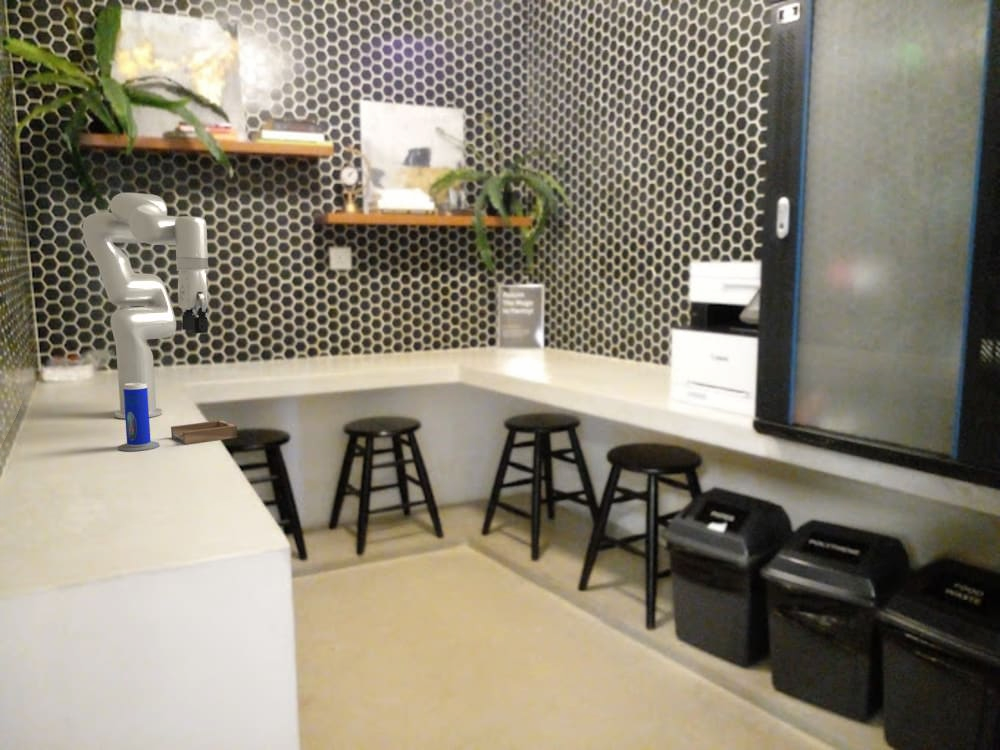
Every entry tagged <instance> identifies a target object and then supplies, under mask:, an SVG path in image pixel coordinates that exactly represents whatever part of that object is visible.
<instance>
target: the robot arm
mask: <svg viewBox="0 0 1000 750" xmlns="http://www.w3.org/2000/svg"><path fill="white" fill-rule="evenodd" d="M109 208H110V211H111V212H95V213H92V214H89V215H88V216H86V218H84V221H83V226H82V230H83V231H82V232H83V233H82V234H83V240H84V242H85V245H86V247H87V249H88V251H89V253H90V255H91V256H92V258H93V260H94V261H95V263H96V265H97V268H98V271H99V274H100V277H101V281H102V284H103V287H104V289H105V292H106V295H107V299H108V300H109V302H110V303H111V304H112V305H114V306H117V307H122V308H119V309H117V310H115V311H114V312H113V313H112V314H111V316H110V328H111V332H112V334H113V339H114V344H115V352H116V353H115V354H116V365H117V367H116V368H117V378H118V380H117V381H118V393H119V408H120V409H119V410H117V411H115V412H114V418H117V419H123V420H125V406H124V391H123V388H124V384H127V383H146V385H147V391H148V407H149V418H154V417H157V416H160V415H162V414H163V409H162V408H159V407H157V400H156V399H157V398H156V383H155V381H156V380H155V367H154V366H155V365H154V354H153V352H152V350H151V349H150V347H149V346H148V345H147V343H145V341H146V340H155V339H156V340H157V339H167V338H170V337H172V336H173V335H174V334H175V333H176V330H177V320H176V315H175V312H174V309H173V307H172V303H171V300H170V297H169V294H168V290H167V289H166V288H167V287H166V285H165V283H164V282H163V280H162V279H161V277H160V276H158V275H156V274H152V273H136V272H135V271H134V270H133V268H132V265H131V261H130V259H129V258H128V256H127V255H126V254H125V252H123V250H121V249H120V248H118V247H117V246H116V245H115V244H114V243H120V244H123V243H124V244H148V245H152V246H154V245H158V246H175V256H176V259H175V260H176V271H178V277H177V279H178V280H177V305H178V307H179V309H181V314H182V315H181V316H182V318H181V321H182V330H183V331H194V333H195V334H207V333H208V332H209V329H208V327H209V325H208V304H209V303H208V302H209V301H208V295H209V294H208V284H207V282H208V281H207V274H206V272H209V257H208V232H207V231H208V229H207V222H206V219H205V218H203V217H201V216H187V215H186V216H175V215H168V207H167V203H166V202H165V201H164V200H163V198H161V196H159V195H155V194H151V193H150V194H149V193H140V192H139V193H138V192H121V193H118V194H116V195H114V196H113V197H112V199H111V200H110V203H109Z"/></svg>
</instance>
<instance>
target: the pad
mask: <svg viewBox="0 0 1000 750" xmlns="http://www.w3.org/2000/svg"><path fill="white" fill-rule="evenodd" d="M159 447H160V443H159V442H157V441H154V440H153V441H152V440H151V442H150V444H149V445H147V446H143V447H130V446H128V444H127V442H126V443H123V444H119V445H118V447H117V449H118V451H121V452H129V453H131V452H143V451H149V450H154V449H157V448H159Z"/></svg>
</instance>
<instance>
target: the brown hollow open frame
mask: <svg viewBox="0 0 1000 750" xmlns="http://www.w3.org/2000/svg"><path fill="white" fill-rule="evenodd" d="M237 428H238V427H237V425H235V424H233V423H231V422H228V421H225V420H223V419H221V420H211V421H205V422H196V423H189V424H180V425H173V426H170V429H171V430H170V431H171V433H170V435H171V439H172V440H175V441H176V442H178V443H181V444H183V445H184V446H188V445H194V444H201V443H207V442H213V441H215V442H216V441H222V440H229V439H235V438H238V429H237Z"/></svg>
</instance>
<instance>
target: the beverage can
mask: <svg viewBox="0 0 1000 750" xmlns="http://www.w3.org/2000/svg"><path fill="white" fill-rule="evenodd" d="M123 391H124V406H125V419H124V420H125V435H126V443H127V444H128V446H130V447H143V446H147V445H149V444H150V442H151V441H152V440H151V428H150V427H151V426H150V425H151V424H150V417H149V407H148V391H147V385H146V383H127V384H124V388H123Z"/></svg>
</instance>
